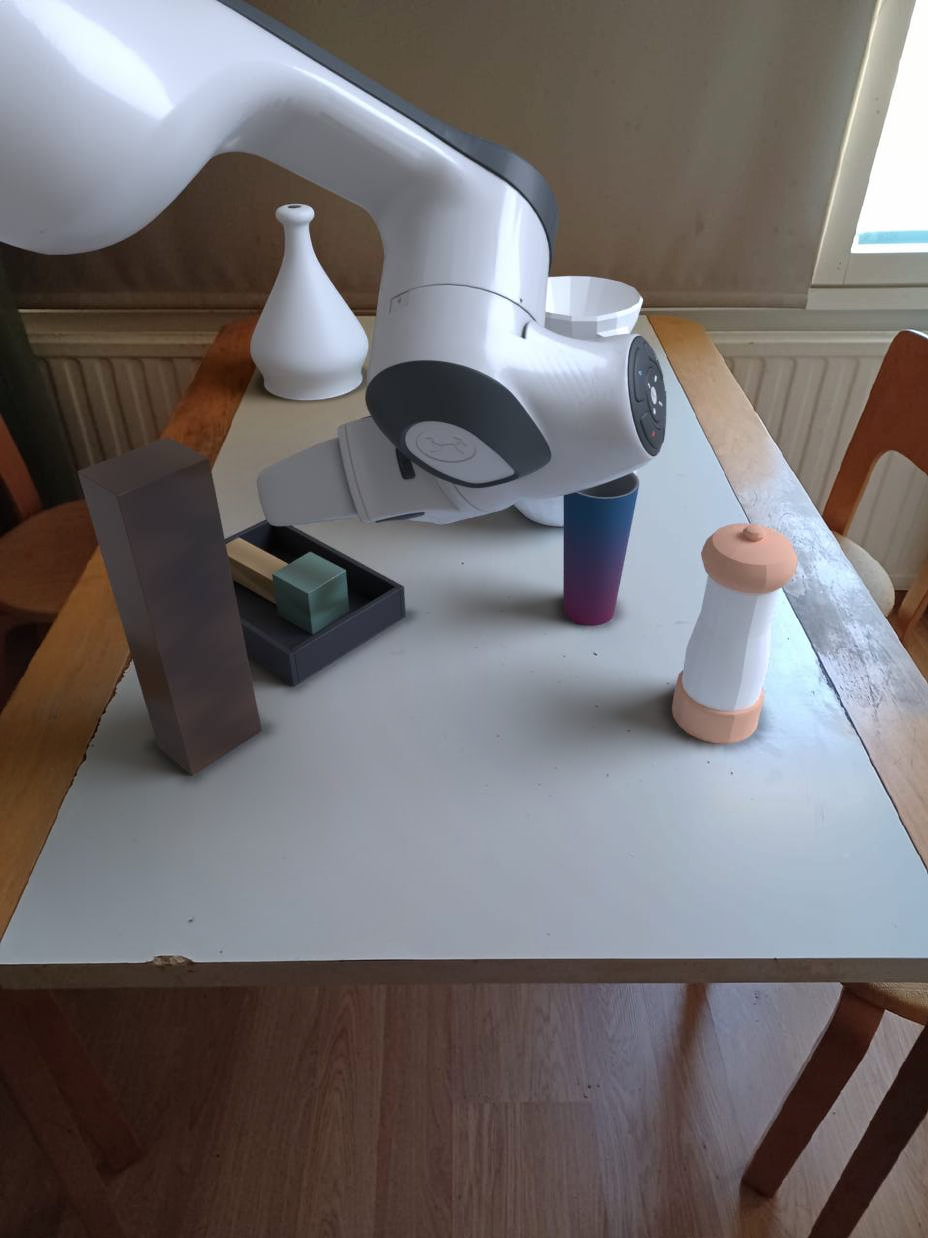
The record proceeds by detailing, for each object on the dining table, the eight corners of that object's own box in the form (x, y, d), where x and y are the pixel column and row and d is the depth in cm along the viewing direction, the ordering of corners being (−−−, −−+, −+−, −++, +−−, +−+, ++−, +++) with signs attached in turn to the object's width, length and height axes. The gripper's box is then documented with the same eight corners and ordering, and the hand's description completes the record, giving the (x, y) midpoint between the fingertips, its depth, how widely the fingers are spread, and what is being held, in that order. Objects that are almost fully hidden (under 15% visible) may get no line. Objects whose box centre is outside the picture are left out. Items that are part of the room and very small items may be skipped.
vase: (237, 400, 133) (206, 218, 118) (281, 357, 146) (259, 189, 131) (350, 410, 130) (333, 225, 115) (384, 365, 143) (374, 194, 128)
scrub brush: (249, 556, 98) (243, 516, 95) (349, 611, 90) (346, 570, 87) (212, 577, 95) (205, 536, 92) (312, 635, 87) (307, 593, 84)
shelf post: (193, 779, 73) (116, 495, 57) (158, 749, 76) (76, 470, 60) (262, 733, 77) (209, 457, 62) (227, 707, 80) (167, 436, 64)
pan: (294, 689, 82) (288, 655, 79) (168, 602, 93) (160, 569, 90) (406, 619, 90) (404, 586, 88) (278, 546, 101) (273, 515, 99)
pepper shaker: (687, 679, 83) (722, 493, 71) (767, 706, 80) (817, 517, 68) (659, 727, 78) (691, 536, 66) (742, 758, 75) (792, 564, 63)
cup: (627, 634, 88) (644, 498, 79) (556, 633, 88) (566, 498, 79) (618, 593, 93) (634, 462, 84) (552, 593, 93) (560, 461, 84)
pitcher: (672, 520, 105) (706, 302, 90) (541, 566, 97) (554, 337, 82) (576, 457, 118) (591, 257, 103) (453, 493, 110) (450, 283, 95)
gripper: (521, 404, 70) (393, 446, 79) (333, 421, 54) (200, 471, 63) (539, 484, 71) (411, 517, 80) (359, 524, 55) (224, 559, 64)
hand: (316, 497), depth 71 cm, fingers open, 8 cm apart
